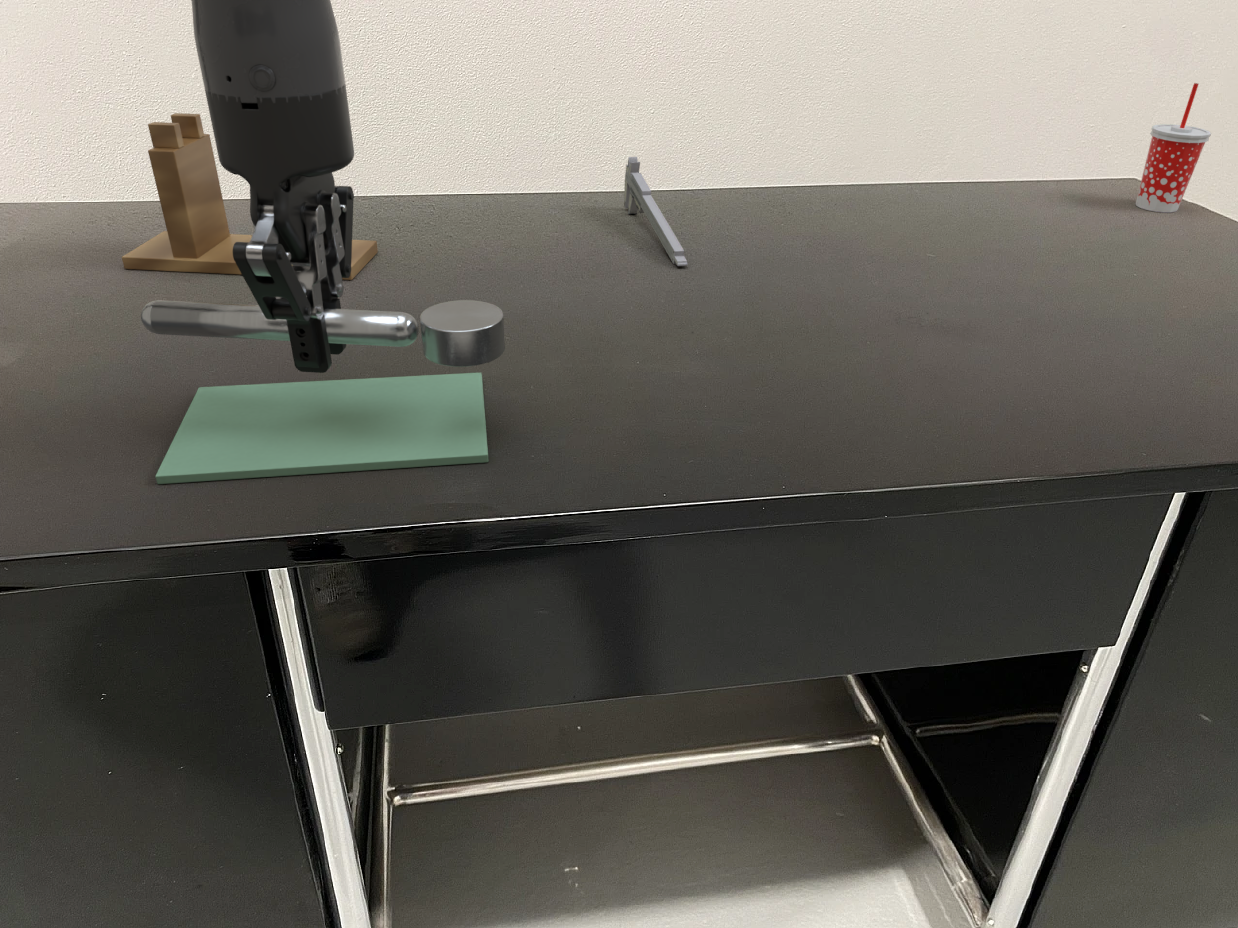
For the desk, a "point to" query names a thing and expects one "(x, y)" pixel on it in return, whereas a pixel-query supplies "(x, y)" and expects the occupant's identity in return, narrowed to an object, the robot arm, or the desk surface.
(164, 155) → the rack
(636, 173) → the caliper
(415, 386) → the mat
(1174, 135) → the beverage cup
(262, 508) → the desk surface
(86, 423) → the desk surface
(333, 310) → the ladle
